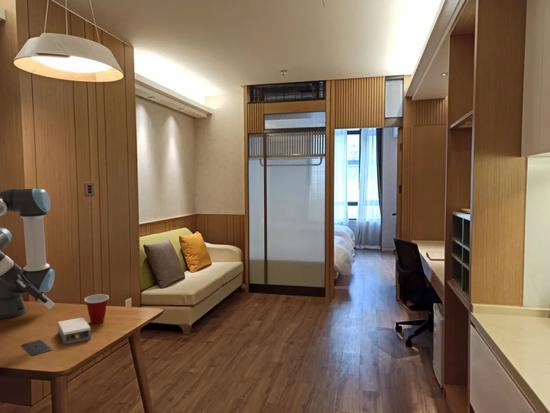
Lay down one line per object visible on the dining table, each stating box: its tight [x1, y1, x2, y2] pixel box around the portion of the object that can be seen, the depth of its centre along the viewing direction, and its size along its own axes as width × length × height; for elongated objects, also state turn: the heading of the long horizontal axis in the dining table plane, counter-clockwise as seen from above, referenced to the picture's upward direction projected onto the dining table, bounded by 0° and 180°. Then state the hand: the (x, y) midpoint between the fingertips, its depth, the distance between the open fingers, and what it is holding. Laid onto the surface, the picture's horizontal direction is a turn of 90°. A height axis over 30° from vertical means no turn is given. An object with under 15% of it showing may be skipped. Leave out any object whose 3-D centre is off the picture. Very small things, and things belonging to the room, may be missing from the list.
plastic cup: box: [84, 293, 110, 325], centre depth 180 cm, size 11×11×12 cm
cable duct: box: [57, 324, 92, 345], centre depth 163 cm, size 16×10×4 cm, turn 37°
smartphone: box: [21, 339, 53, 357], centre depth 151 cm, size 7×1×15 cm
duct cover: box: [58, 316, 91, 335], centre depth 163 cm, size 16×10×1 cm, turn 37°
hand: (51, 306), depth 159 cm, fingers closed
